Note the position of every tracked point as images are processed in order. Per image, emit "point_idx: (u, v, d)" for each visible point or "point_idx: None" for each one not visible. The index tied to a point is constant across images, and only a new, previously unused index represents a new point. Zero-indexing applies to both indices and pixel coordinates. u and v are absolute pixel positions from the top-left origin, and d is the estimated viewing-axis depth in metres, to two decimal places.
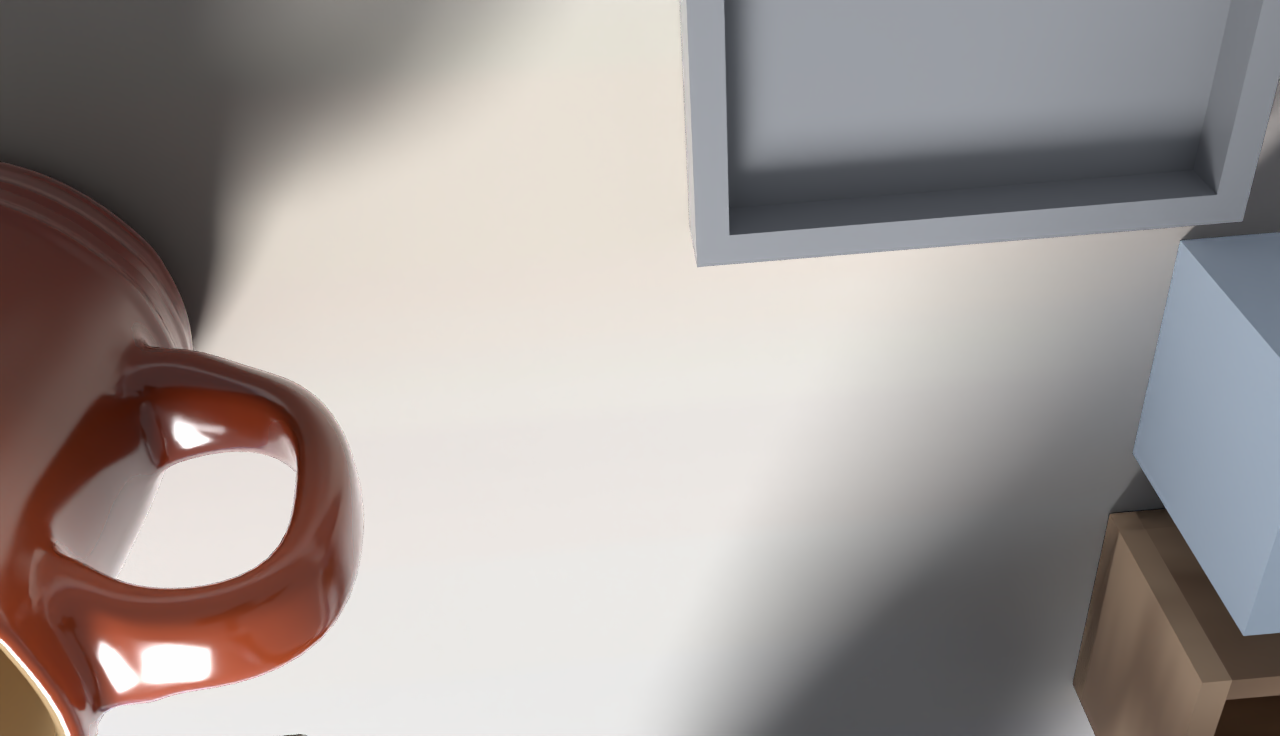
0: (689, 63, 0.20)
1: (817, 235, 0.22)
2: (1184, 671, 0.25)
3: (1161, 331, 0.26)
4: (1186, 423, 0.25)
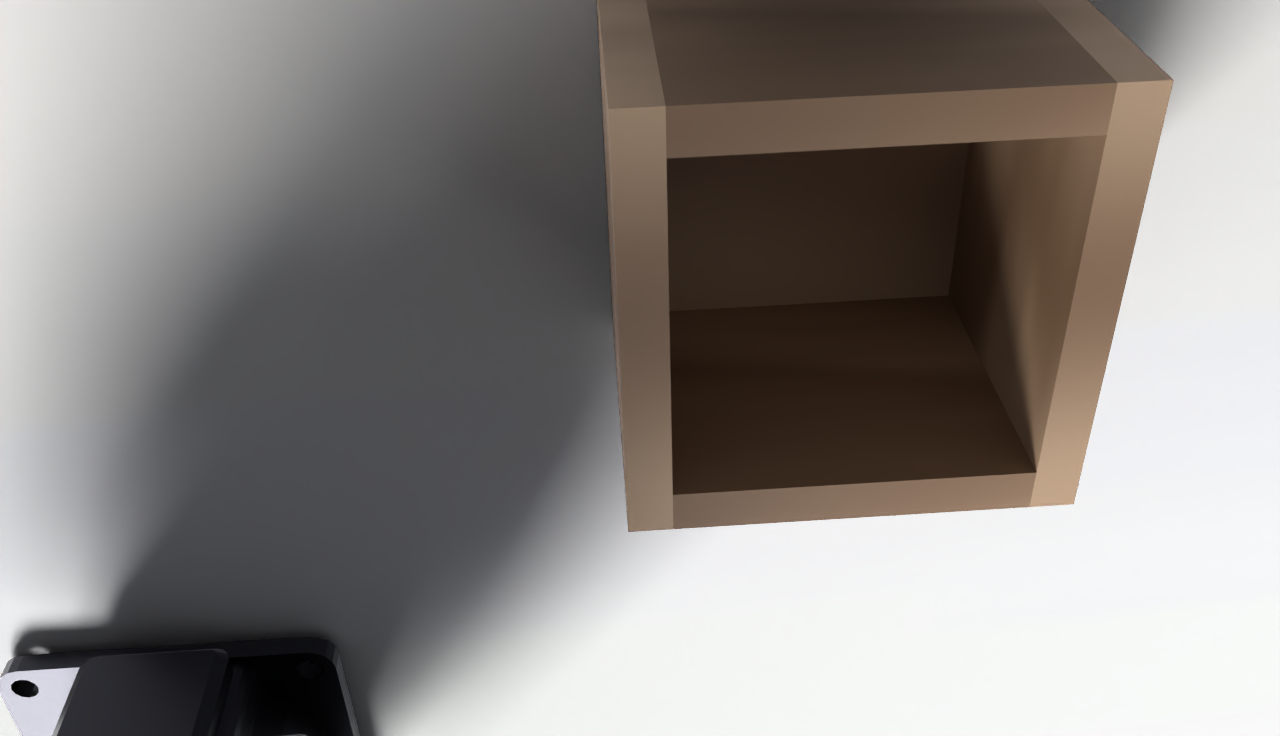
0: None
1: None
2: (607, 119, 0.14)
3: None
4: None
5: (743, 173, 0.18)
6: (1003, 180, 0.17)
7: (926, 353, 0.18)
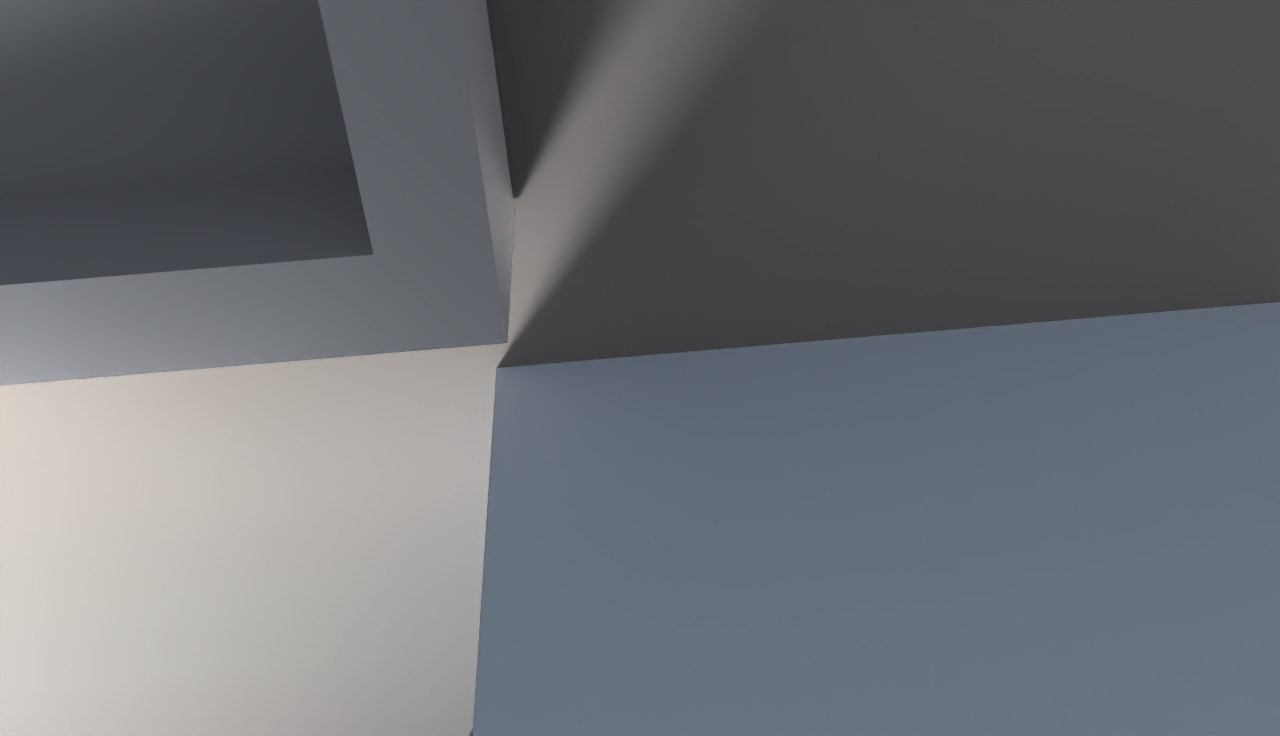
0: None
1: None
2: None
3: None
4: None
5: None
6: None
7: None
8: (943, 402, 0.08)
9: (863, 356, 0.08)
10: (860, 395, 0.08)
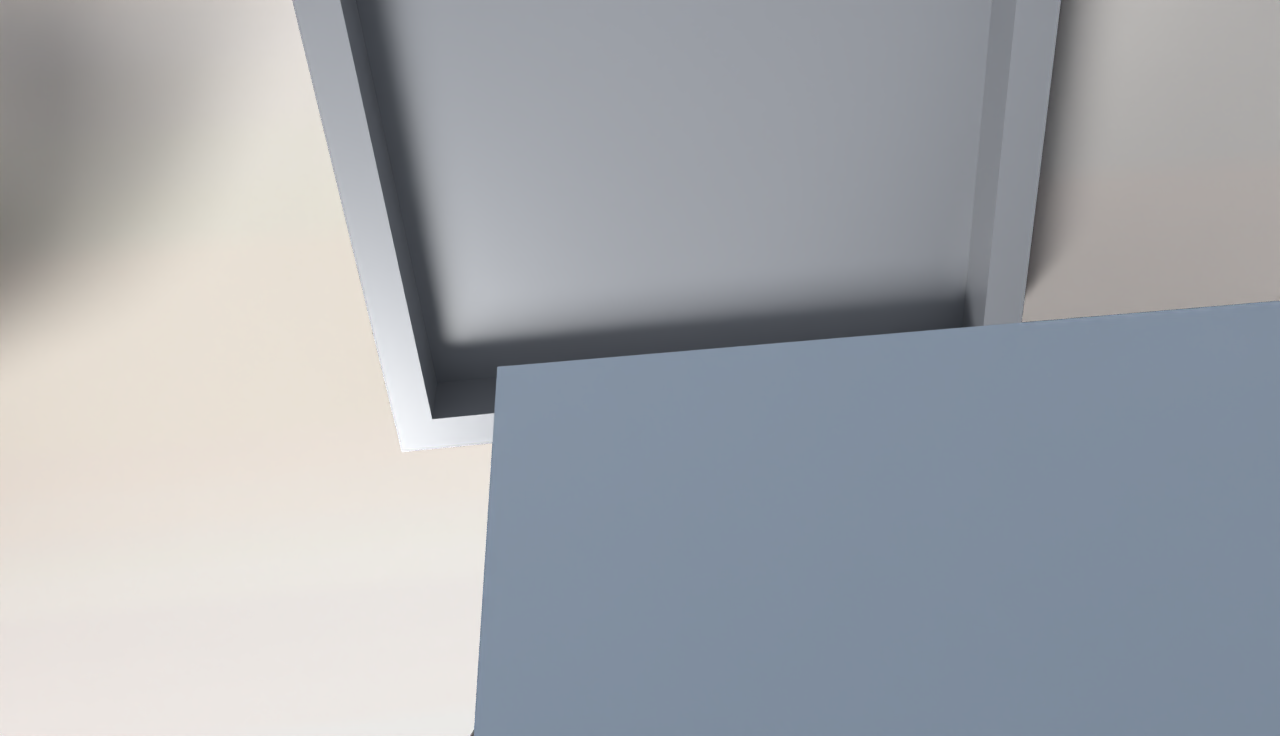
0: (352, 244, 0.18)
1: None
2: None
3: None
4: None
5: None
6: None
7: None
8: (948, 404, 0.08)
9: (866, 356, 0.08)
10: (864, 397, 0.08)
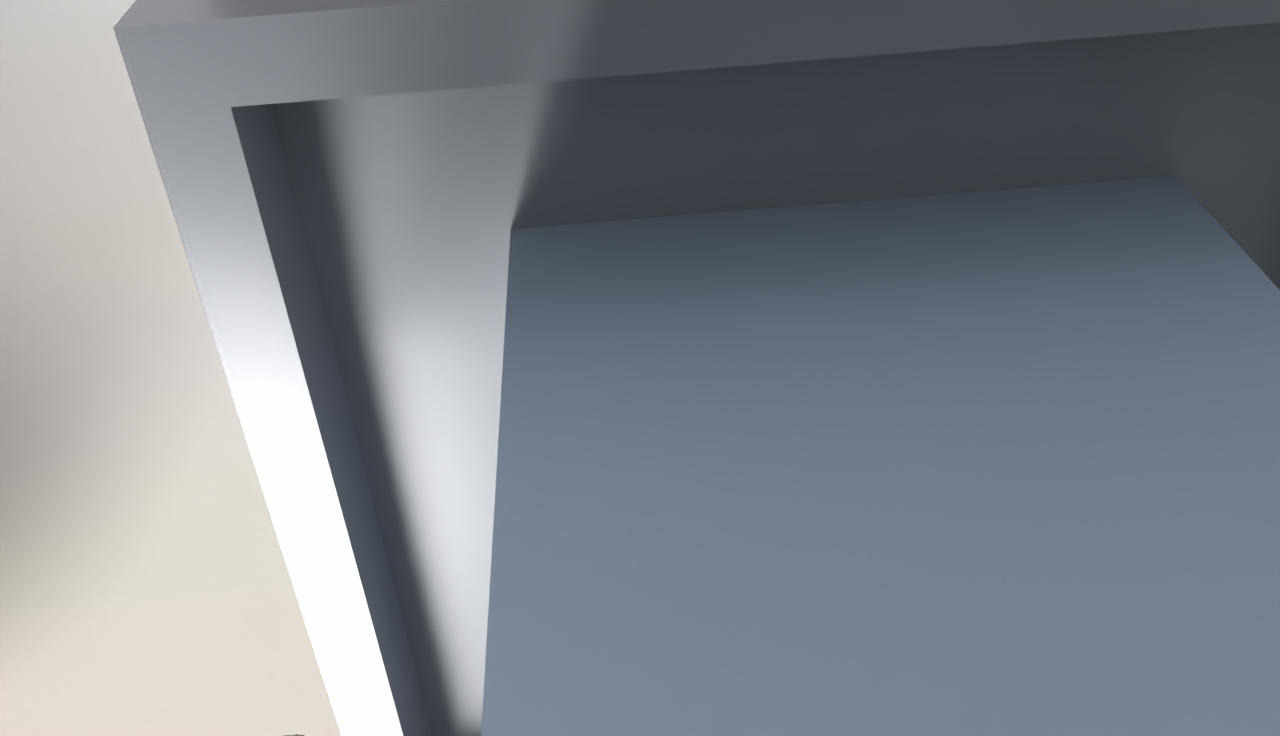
0: (319, 663, 0.11)
1: None
2: None
3: None
4: None
5: None
6: None
7: None
8: (886, 252, 0.09)
9: (821, 219, 0.10)
10: (816, 247, 0.09)
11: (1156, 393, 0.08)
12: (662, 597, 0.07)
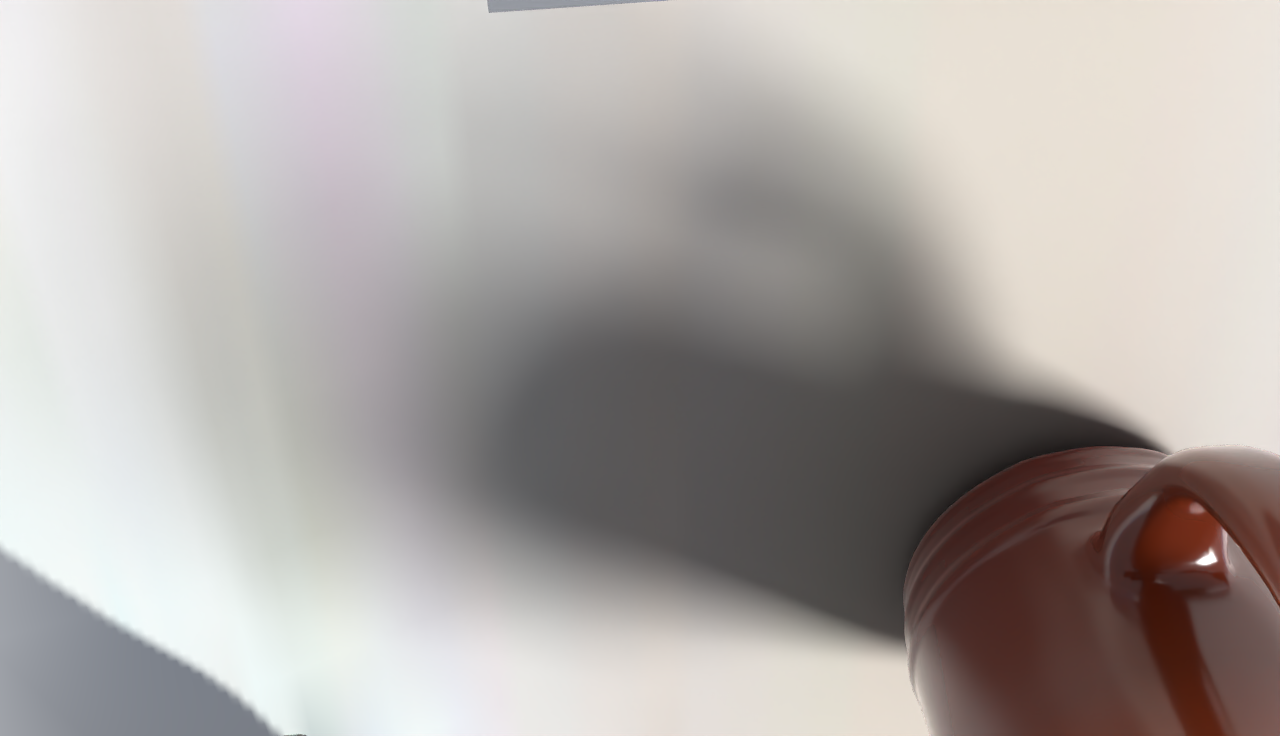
0: None
1: None
2: None
3: None
4: None
5: None
6: None
7: None
8: None
9: None
10: None
11: None
12: None
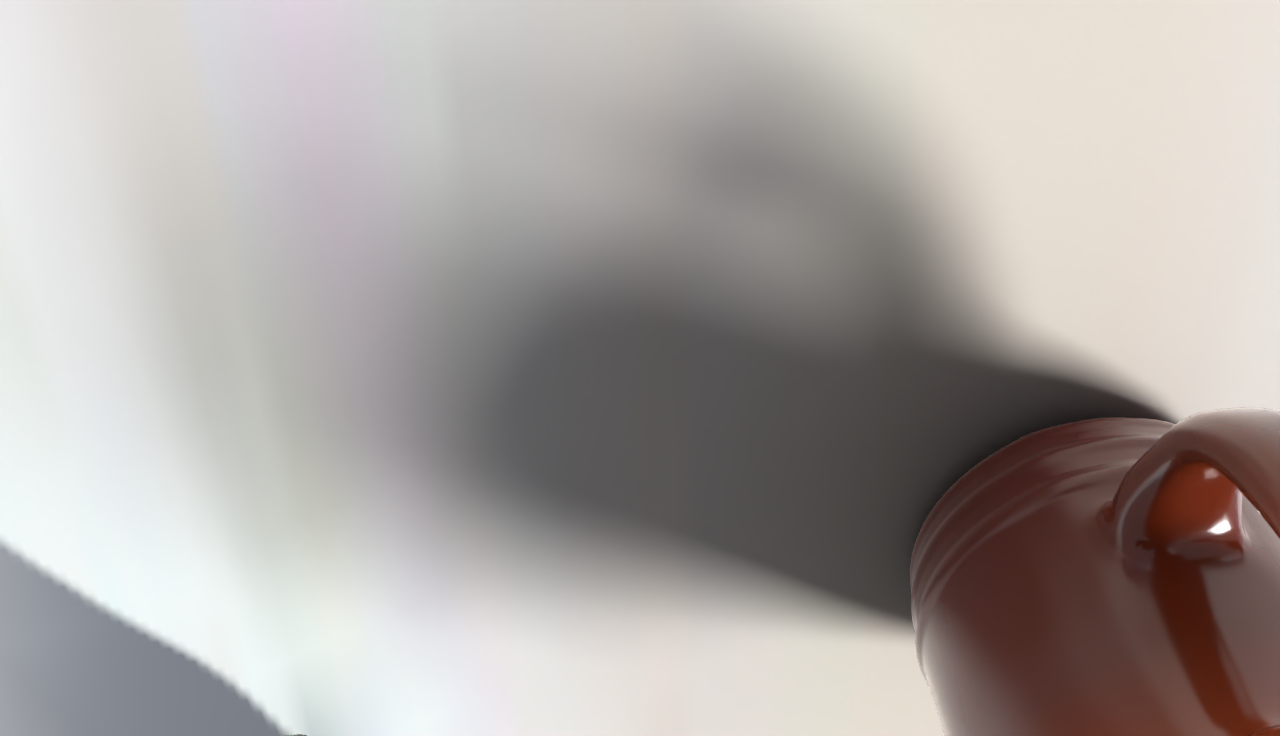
0: None
1: None
2: None
3: None
4: None
5: None
6: None
7: None
8: None
9: None
10: None
11: None
12: None
